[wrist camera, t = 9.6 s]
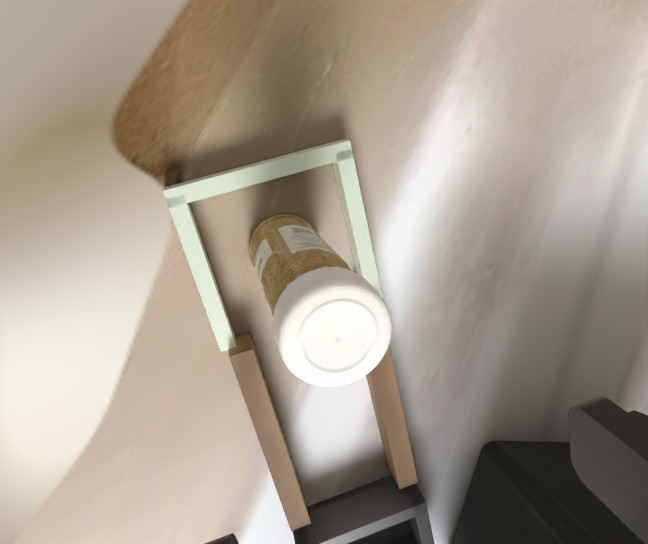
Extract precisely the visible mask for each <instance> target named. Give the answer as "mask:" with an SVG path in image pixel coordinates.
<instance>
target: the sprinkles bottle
mask: <svg viewBox="0 0 648 544" xmlns="http://www.w3.org/2000/svg"><path fill="white" fill-rule="evenodd" d="M249 254H250V259H251V262H252V265H253V266H254V267H255V269H256V273H257V276H258V279H259V282H260V284H261V287H262V290H263V292H264V295H265V298H266V301H267V304H268V306H269V308H270V310H271V312H272V316H273V333H274V337H275V340H276V343H277V346H278V349H279V352H280V354H281V356H282V359H283V361H284V363H285V364H286V366H287V367H288V368H289V370H290V371H291V372H292V373H293V374H295V375H296V376H297V377H298V378H300V379H301V380H303V381H305V382H307V383H310V384H313V385H316V386H322V387H336V386H342V385H346V384H349V383H352V382H354V381H356V380H359V379H360V378H362V377H364V376H365V375H367V374H368V373H369V372H370V371H372V370H373V369H374V368H375V367H376V366H377V365H378V363H379V362H380V361H381V359H382V358H383V356H384V355H385V353H386V351H387V348H388V346H389V343H390V339H391V334H392V320H391V315H390V312H389V309H388V307H387V304H386V303H385V301H384V299H383V298H382V297H381V296H380V294H379V293H378V292H377V291H376V290H375V288H374V287H373V286H372V285H371V284H370V283H369V282H368V281H367V280H366V279H365V278H363V277H362V276H361V275H359V274H357V273H356V272H354V271H351V270H350V268H349V266H348V265H347V263H346V262H345V261H344V260H343V259H342V258H341V257H340V256H339V255H338V254H337V253H336V252H335V251H334V250H333V249H332V248H331V247H330V246H329V245H328V244H327V243H326V242H325V241H324V240H323V239H322V238H321V237H320V236H319V235H318V234H317V233H316V232H315V230H314V229H313V227H312V226H311V225H310V224H309V223H308V222H307V221H305V220H304V219H302V218H301V217H298V216H295V215H291V214H280V215H274V216H273V217H270V218H268V219H266V220H264V221H262V222H261V223H260V224H259V225H258V227H257V228H256V229H255V231H254V233H253V235H252V237H251V240H250V244H249Z"/></svg>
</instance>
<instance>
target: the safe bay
mask: <svg viewBox="0 0 648 544" xmlns="http://www.w3.org/2000/svg"><path fill="white" fill-rule="evenodd" d="M331 163H332V165H333V169H334V173H335V178H336V182H337V187H338V191H339V196H340V200H341V205H342V209H343V213H344V218H345V222H346V227H347V231H348V236H349V240H350V244H351V249H352V253H353V258H354V262H355V267H356V271H357V274H359V275H361V276H362V277H363V278H365V279H366V280H367V281H368V282H369V283H370V284H371V285H372V286H373V287H374V288H375V290H376V291H377V292H378V293H379V294H380V296H381V297H382V292H381V287H380V282H379V278H378V273H377V268H376V263H375V258H374V254H373V249H372V244H371V239H370V234H369V229H368V225H367V220H366V215H365V210H364V205H363V201H362V196H361V191H360V186H359V181H358V177H357V172H356V167H355V162H354V157H353V153H352V148H351V143H350V140H346V139H341V140H338V141H334V142H330V143H326V144H323V145H319V146H315V147H312V148H308V149H304V150H301V151H297V152H293V153H289V154H286V155H282V156H278V157H275V158H271V159H267V160H263V161H260V162H256V163H252V164H249V165H245V166H241V167H238V168H234V169H230V170H226V171H223V172H219V173H215V174H212V175H208V176H204V177H200V178H197V179H193V180H189V181H186V182H182V183H178V184H175V185H171V186H167V187H165V188H164V190H163V193H164V196H165V198H166V201H167V204H168V207H169V210H170V212H171V215H172V218H173V221H174V223H175V226H176V229H177V232H178V235H179V237H180V240H181V243H182V246H183V248H184V251H185V254H186V257H187V259H188V262H189V265H190V268H191V270H192V273H193V276H194V279H195V282H196V284H197V287H198V290H199V293H200V295H201V298H202V301H203V304H204V306H205V309H206V312H207V315H208V317H209V320H210V323H211V326H212V329H213V331H214V334H215V337H216V340H217V342H218V345H219V348H220V351H221V352H222V351H225V350H228V349H231V348H234V347H236V340H235V335H234V332H233V329H232V326H231V323H230V320H229V318H228V315H227V312H226V309H225V306H224V303H223V300H222V297H221V294H220V291H219V289H218V286H217V283H216V280H215V277H214V274H213V271H212V268H211V265H210V262H209V259H208V257H207V254H206V251H205V248H204V245H203V242H202V239H201V236H200V233H199V230H198V228H197V225H196V222H195V219H194V216H193V213H192V210H191V207H190V204H189V203H190V202H193V201H197V200H200V199H204V198H208V197H211V196H215V195H218V194H222V193H226V192H229V191H233V190H237V189H240V188H244V187H247V186H251V185H255V184H258V183H262V182H266V181H269V180H273V179H276V178H280V177H284V176H287V175H291V174H294V173H298V172H302V171H305V170H309V169H313V168H316V167H320V166H323V165H327V164H331ZM382 298H383V297H382Z"/></svg>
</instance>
